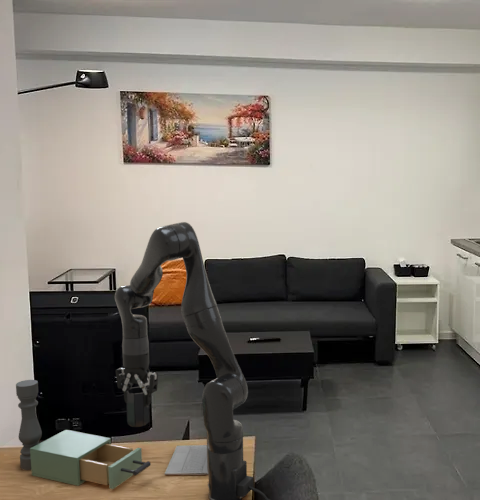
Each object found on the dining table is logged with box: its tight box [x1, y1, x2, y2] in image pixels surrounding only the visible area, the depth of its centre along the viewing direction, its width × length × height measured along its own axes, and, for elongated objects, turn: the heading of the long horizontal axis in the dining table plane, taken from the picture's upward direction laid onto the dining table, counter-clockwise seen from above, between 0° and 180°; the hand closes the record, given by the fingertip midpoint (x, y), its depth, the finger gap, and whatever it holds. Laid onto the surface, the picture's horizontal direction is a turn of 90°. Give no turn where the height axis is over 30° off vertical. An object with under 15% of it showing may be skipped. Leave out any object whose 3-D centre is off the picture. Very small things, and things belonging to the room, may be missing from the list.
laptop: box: [164, 433, 208, 476], centre depth 193 cm, size 18×12×13 cm
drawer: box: [79, 443, 152, 490], centre depth 182 cm, size 21×12×6 cm, turn 70°
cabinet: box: [30, 429, 112, 487], centre depth 187 cm, size 17×14×8 cm
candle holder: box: [15, 379, 43, 471], centre depth 188 cm, size 6×6×25 cm
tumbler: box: [125, 386, 150, 428], centre depth 197 cm, size 6×6×10 cm
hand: (137, 403), depth 197 cm, fingers closed on tumbler, 6 cm apart
